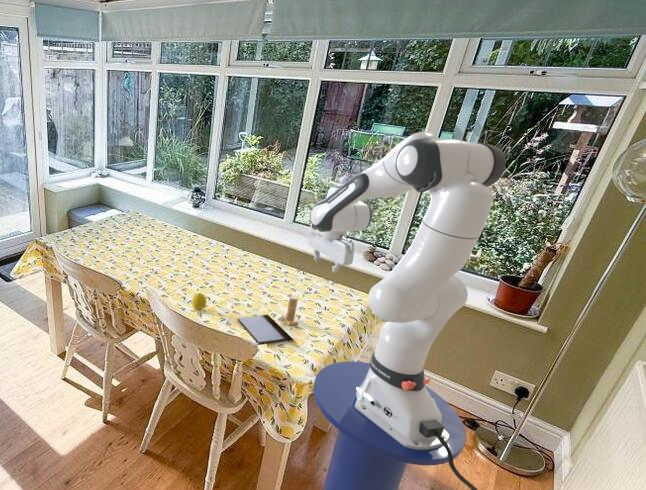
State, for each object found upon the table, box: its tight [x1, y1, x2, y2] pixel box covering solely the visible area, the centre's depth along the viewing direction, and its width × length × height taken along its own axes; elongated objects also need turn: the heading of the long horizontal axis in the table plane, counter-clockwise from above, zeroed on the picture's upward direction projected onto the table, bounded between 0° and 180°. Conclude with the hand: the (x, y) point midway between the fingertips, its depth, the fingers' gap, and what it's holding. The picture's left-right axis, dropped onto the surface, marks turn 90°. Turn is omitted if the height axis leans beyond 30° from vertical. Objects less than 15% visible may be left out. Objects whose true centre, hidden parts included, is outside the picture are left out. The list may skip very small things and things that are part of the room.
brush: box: [280, 294, 299, 327], centre depth 152 cm, size 5×4×12 cm
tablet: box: [237, 314, 295, 346], centre depth 153 cm, size 16×20×1 cm
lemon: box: [191, 292, 207, 311], centre depth 162 cm, size 6×6×8 cm
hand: (325, 266), depth 149 cm, fingers open, 8 cm apart
